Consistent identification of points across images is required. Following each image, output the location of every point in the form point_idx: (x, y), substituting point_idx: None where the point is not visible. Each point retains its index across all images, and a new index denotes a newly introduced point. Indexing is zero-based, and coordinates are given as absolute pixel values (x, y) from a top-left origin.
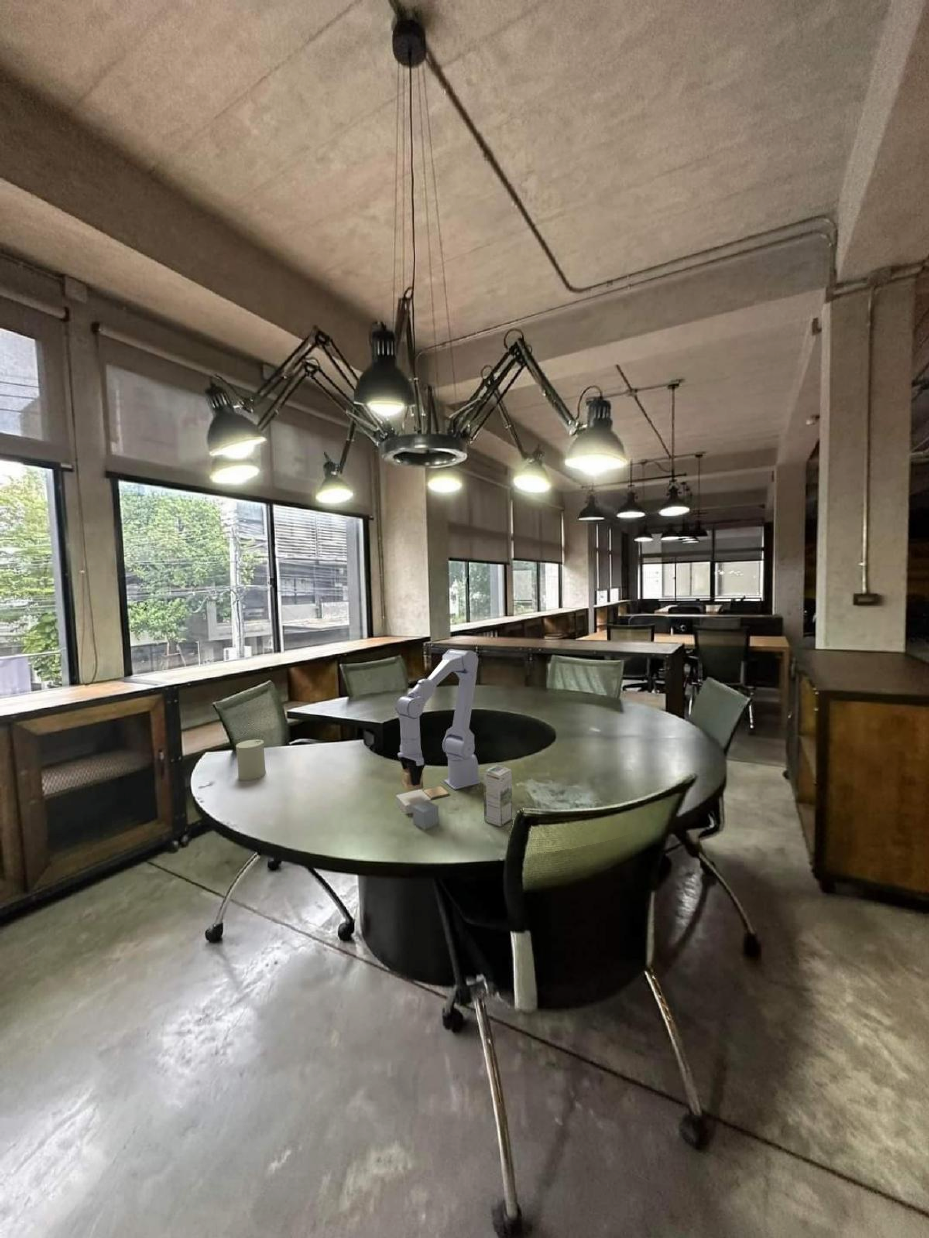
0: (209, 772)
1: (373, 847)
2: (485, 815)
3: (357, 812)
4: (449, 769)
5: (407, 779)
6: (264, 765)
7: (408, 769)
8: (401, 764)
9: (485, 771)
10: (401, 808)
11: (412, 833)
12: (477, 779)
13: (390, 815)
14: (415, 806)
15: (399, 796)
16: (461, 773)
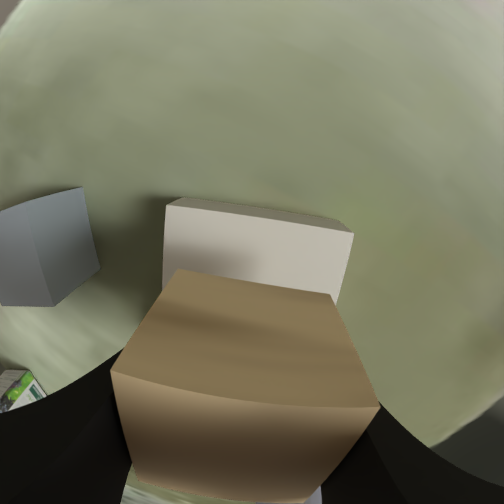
0: None
1: (51, 7)
2: (17, 379)
3: (372, 19)
4: (309, 500)
5: (133, 339)
6: None
7: (301, 460)
8: (434, 454)
9: None
10: (251, 206)
11: (30, 150)
12: None
13: (224, 120)
14: (21, 215)
15: (320, 241)
16: (260, 502)
